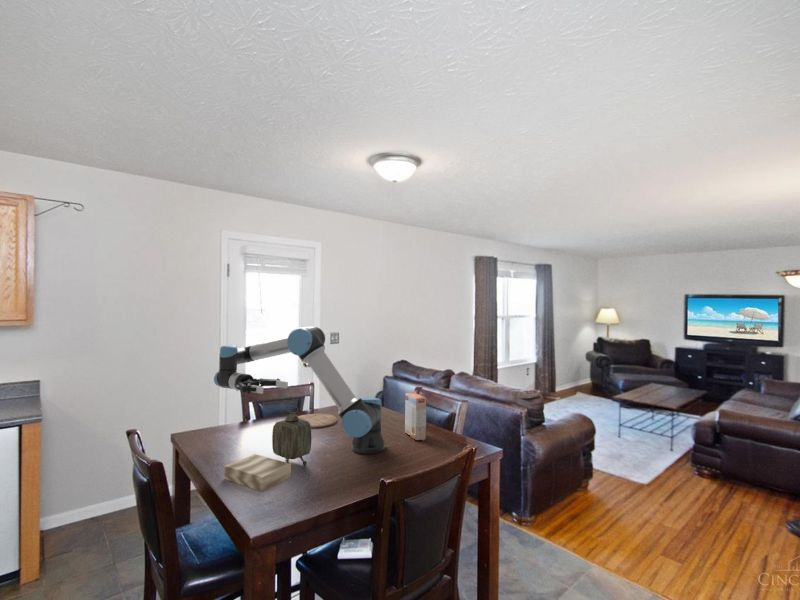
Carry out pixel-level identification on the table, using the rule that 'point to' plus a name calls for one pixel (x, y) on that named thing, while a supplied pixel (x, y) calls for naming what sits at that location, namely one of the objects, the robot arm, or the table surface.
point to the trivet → (319, 420)
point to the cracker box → (415, 415)
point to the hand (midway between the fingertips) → (275, 387)
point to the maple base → (257, 472)
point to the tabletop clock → (292, 437)
